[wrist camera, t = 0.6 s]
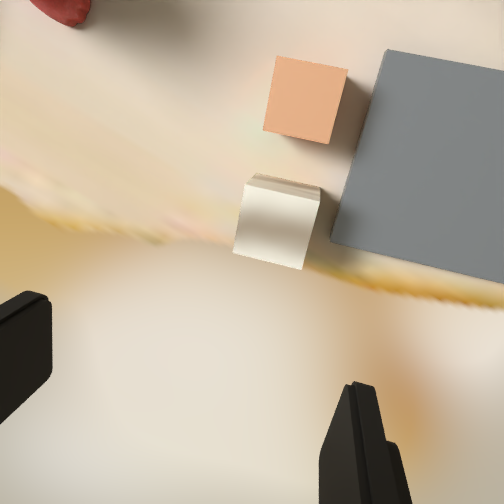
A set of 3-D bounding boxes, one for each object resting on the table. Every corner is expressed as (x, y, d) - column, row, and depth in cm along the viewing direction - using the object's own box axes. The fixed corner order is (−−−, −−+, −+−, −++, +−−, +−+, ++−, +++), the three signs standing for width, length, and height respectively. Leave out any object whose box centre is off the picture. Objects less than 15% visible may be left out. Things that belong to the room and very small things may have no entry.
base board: (384, 52, 30) (387, 49, 28) (598, 92, 28) (612, 91, 27) (329, 236, 37) (329, 241, 35) (499, 277, 35) (506, 284, 34)
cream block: (256, 172, 36) (244, 184, 30) (320, 187, 35) (320, 201, 30) (245, 232, 38) (232, 252, 33) (304, 246, 38) (301, 270, 32)
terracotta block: (283, 63, 32) (276, 55, 27) (344, 75, 31) (348, 69, 27) (270, 127, 34) (262, 130, 29) (327, 139, 33) (328, 144, 29)
